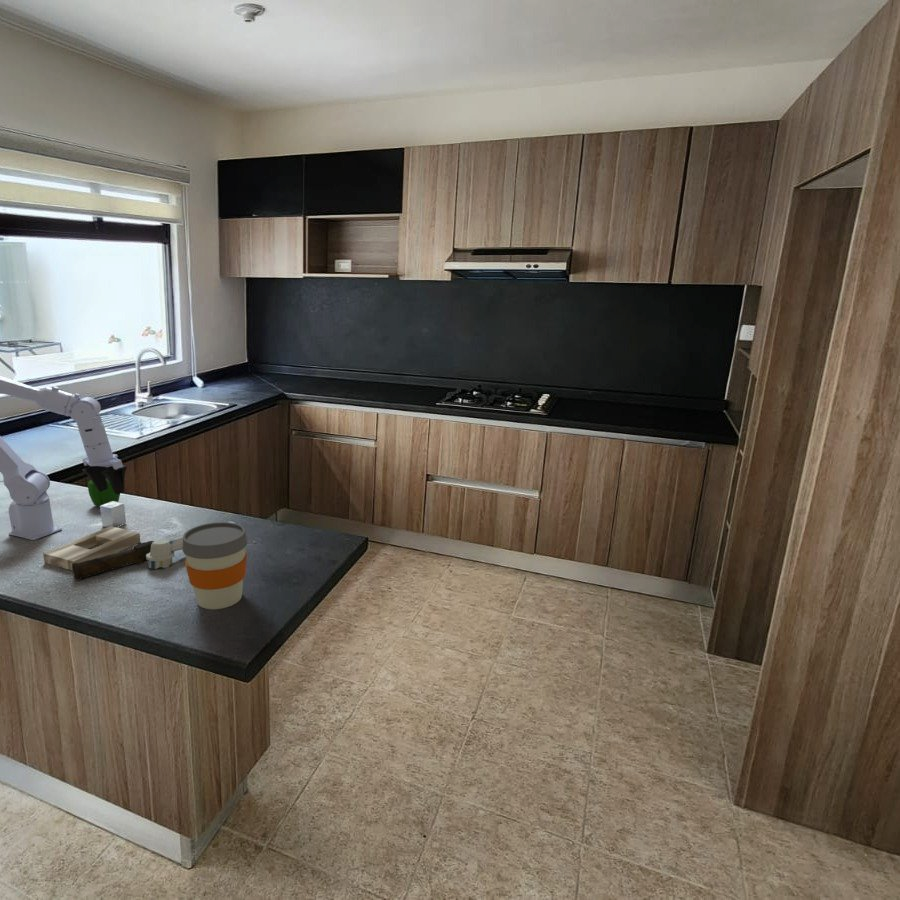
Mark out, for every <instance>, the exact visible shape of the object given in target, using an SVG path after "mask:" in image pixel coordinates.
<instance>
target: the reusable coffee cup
mask: <svg viewBox="0 0 900 900" xmlns="http://www.w3.org/2000/svg"><path fill="white" fill-rule="evenodd" d="M182 536H183V549H182V553H183V554H184V555H185V561H184V562H185V563H184V564H185V565H184V566H185V569H186V573H187V575H188V576H187V577H188V580H189V581H188V582H189V583H190V585H191V586H192V588H193V591H194V595H195V600H196V604H197V605H198V607H200V608H203V609H206V610H220V609H225V608H228V607H231V606H233V605H235V604H237V603H238V602H240V600H241V599H242V597H243V585H244V584H243V583H244V578H245V577H246V572H247V571H246V570H247V558H248V555H247V552H246V546H247V544H248V538H247V535H246V528H245V527H244V526H243V525H241V524H239V523H238V524H236V523H230V521H219V522H218V521H217V522H216V521H215V522H210V523H204V524H200V525H197V526H194V527H192V528H189V529H188V530H187V531H186V532H184V534H183V535H182Z"/></svg>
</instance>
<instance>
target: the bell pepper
mask: <svg viewBox="0 0 900 900" xmlns="http://www.w3.org/2000/svg"><path fill="white" fill-rule="evenodd" d="M106 481H107V486H108V489H106V490H104V491H101V492H99V491H98V489H97V488H96V486H95V485H94V483H93V482H92V480H91V479H90V480H88V482H87V490H88V495H89V497H90V499H91V502H92V503H93V505H94V506H95V507H97V508H100V506H101V505H104V504H106V503H109V502H112V501H115V502H119V501H120V496H121V493H120V494H115V493H114V491H113V489H112V487H111V484H110V482H109V481H108V479H107V478H106Z"/></svg>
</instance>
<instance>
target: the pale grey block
mask: <svg viewBox="0 0 900 900" xmlns="http://www.w3.org/2000/svg"><path fill="white" fill-rule="evenodd" d="M99 508H100V516H101V525H102V527H103V526H104V527H103V528H107V527H110V526H112V527H117V528H119V527H118V526H120V525H122V524H125V523H126V524H127V520H126V512H125V504H124V503H123V502H119V501H118V502H115V501H112V502H109V503H106V504H104V505H101V506H100V507H99ZM126 524H125V525H126ZM122 526H123V525H122ZM120 527H121V526H120Z"/></svg>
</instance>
